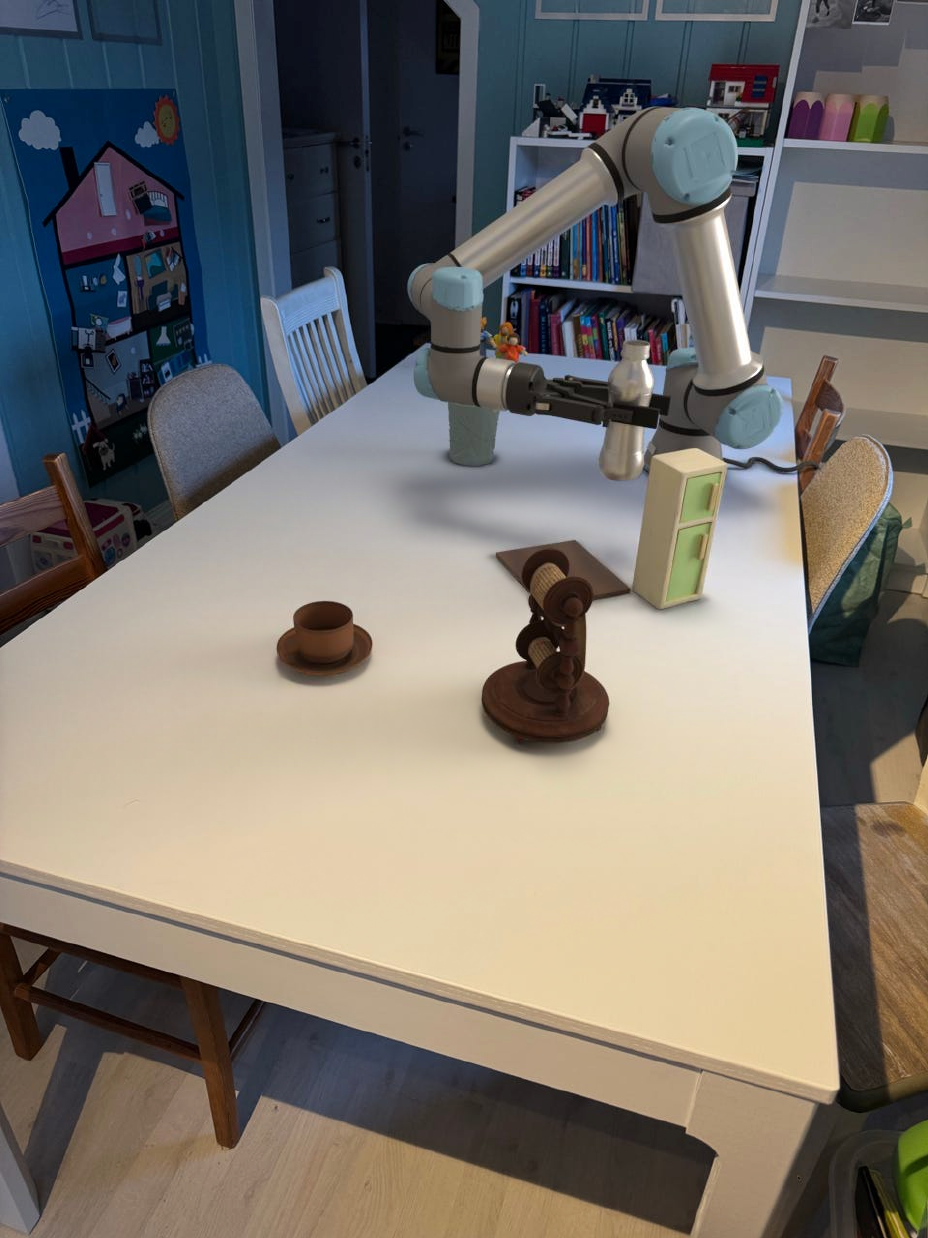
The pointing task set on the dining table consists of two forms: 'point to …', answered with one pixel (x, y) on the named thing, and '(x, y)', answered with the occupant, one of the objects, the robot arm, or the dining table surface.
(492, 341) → the doll family
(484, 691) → the wooden spool stand
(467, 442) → the green embossed cup
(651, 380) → the silver metal bottle
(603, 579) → the walnut board
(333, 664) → the cup and saucer
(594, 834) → the dining table surface
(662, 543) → the toy refrigerator
